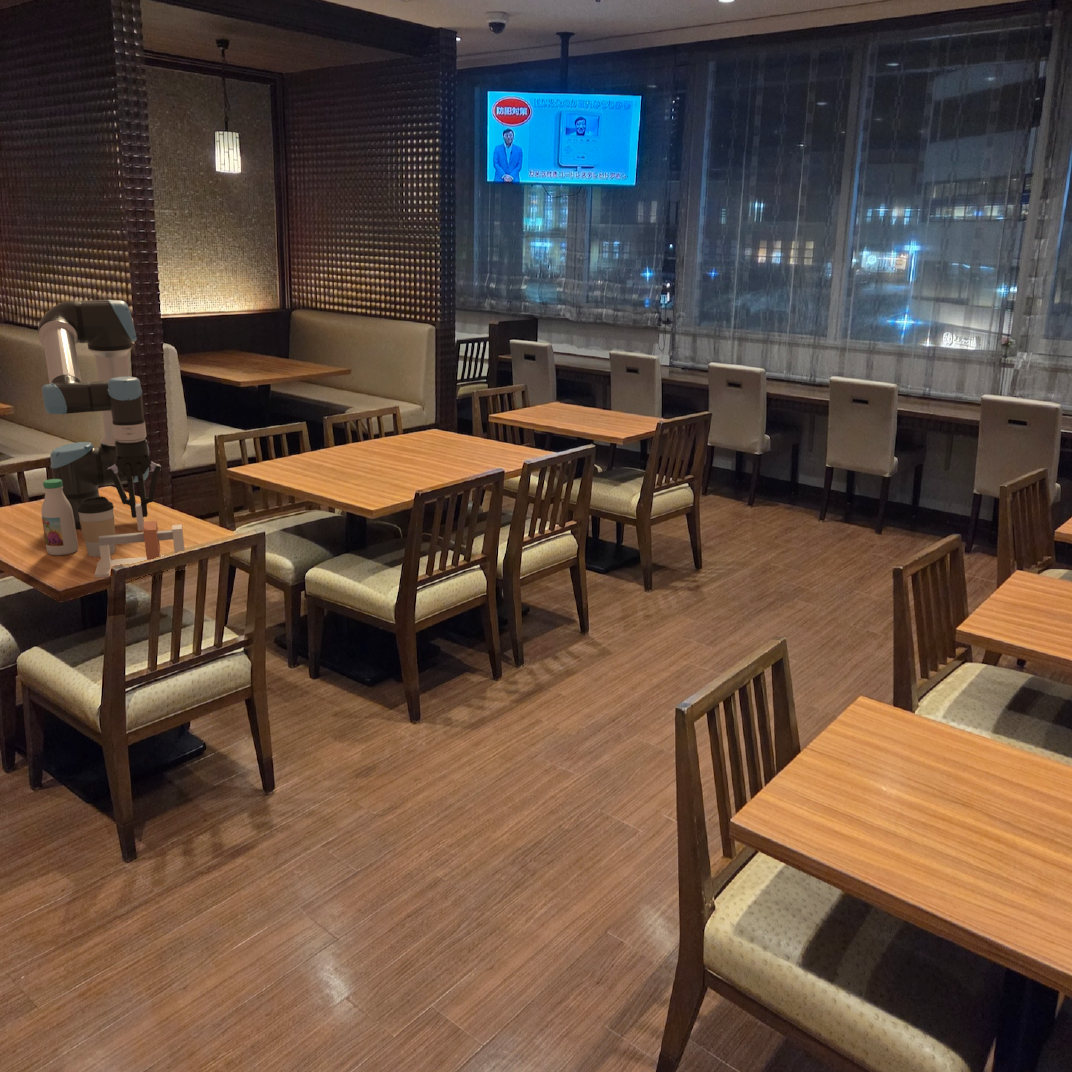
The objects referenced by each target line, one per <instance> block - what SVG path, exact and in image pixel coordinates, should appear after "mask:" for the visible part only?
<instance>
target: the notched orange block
mask: <svg viewBox="0 0 1072 1072" xmlns="http://www.w3.org/2000/svg"><path fill="white" fill-rule="evenodd" d="M158 526H159V525H158V520H150V521H144V530H142V532H144V540H145V542H144V547H145V548H144V549H145V557H147V560H151V559H154V558H156V557H160V555H161V546H160V545H161V543H160V541H158V539H157V531H159V528H158Z"/></svg>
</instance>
